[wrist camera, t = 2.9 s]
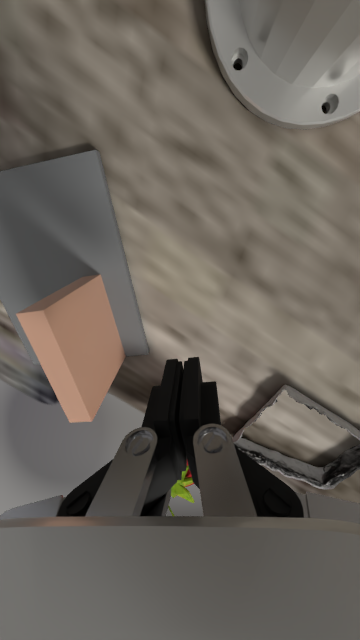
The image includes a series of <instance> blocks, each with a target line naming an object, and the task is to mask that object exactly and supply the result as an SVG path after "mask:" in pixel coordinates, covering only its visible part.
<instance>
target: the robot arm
mask: <svg viewBox="0 0 360 640" xmlns="http://www.w3.org/2000/svg"><path fill="white" fill-rule="evenodd" d="M205 9H206V22H207V27H208V31H209V36H210V40H211V45H212V49H213V53H214V55H215V58H216V60H217V63H218V65H219V68H220V71H221V73H222V76H223V77H224V79H225V80H226V82H227V84H228V85H229V87H230V89H231V90H232V92H233V93H234V95H235V96H236V97H237V98H238V99H239V100H240V101H241V103H242V104H243V105H244V106H245V107H246V108H247V109H248V110H249V111H250V112H252V113H253V114H255V115H257V116H258V117H260V118H261V119H263V120H264V121H266V122H268V123H271V124H274V125H277V126H280V127H283V128H289V129H303V130H307V129H313V128H319V127H326V126H329V125H332V124H334V123H337V122H340V121H342V120H345V119H348V118H350V117H351V116H353V115H355V114H357V113H358V112H360V0H205ZM236 63H239V64H240V65H241V67H242V69H241V70H240V71H239V70H235V69H234V68H233V66H234V65H235V64H236ZM322 105H323V106H325V107H326V110H327V111H326V114H324V112H323V111H322ZM187 461H188V466H189V470H190V471H191V476H192V481H193V483H194V484H195V485H196V486H197V487H198V488H199V489H200V494H201V501H202V507H203V515H204V517H202V516H201V517H200V516H191V517H189V516H166V514H167V510H168V506H169V501H170V497H171V488H172V487H173V486H174V485H175V484H176V483H177V480H182V471H186V468H187ZM0 640H360V503H355V502H351V501H346V500H342V499H337V498H333V497H328V496H324V495H319V494H315V493H310V492H306V495H304V494H300V493H296V492H294V491H293V490H292V489H291V488H290V487H289V486H288V485H286V484H285V483H284V482H282V481H281V480H280V479H278V478H277V477H276V476H274V475H273V474H272V473H270V472H269V471H268V470H266V469H265V468H264V467H262V466H261V465H260V464H258V463H257V462H256V461H254V460H253V459H252V458H250V457H249V456H248V455H246V454H245V453H244V452H242V451H241V450H240V449H238V448H237V447H236V446H234V443H233V440H232V437H231V435H230V433H229V431H228V430H227V429H226V428H225V427H223V426H221V422H220V413H219V403H218V395H217V386H216V382H202V375H201V368H200V361H199V357H193V358H188V361H184V370H183V365H182V361H180V362H178V359H171V360H167V361H166V365H165V370H164V374H163V379H162V383H161V386H153V388H152V391H151V395H150V398H149V402H148V406H147V409H146V413H145V417H144V420H143V424H142V427H141V428H137V429H135V430H133V431H131V432H130V433H129V434H128V435H126V436H125V438H124V440H123V441H122V443H121V445H120V447H119V449H118V451H117V453H116V455H115V457H114V459H113V460H111V461H110V462H109V463H108V464H106V465H105V466H104V467H102V468H101V469H100V470H98V471H97V472H96V473H95V474H93V475H92V476H91V477H89V478H88V479H87V480H85V481H84V482H83V483H82V484H80V485H79V486H78V487H77V488H75V489H74V490H73V491H72V492H71V493H70V494H68V495H67V497H63V496H62V495H60V496H56V497H52V498H49V499H45V500H42V501H38V502H34V503H30V504H27V505H23V506H19V507H16V508H12V509H10V510H8V511H6V512H4V513H3V514H1V515H0Z"/></svg>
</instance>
